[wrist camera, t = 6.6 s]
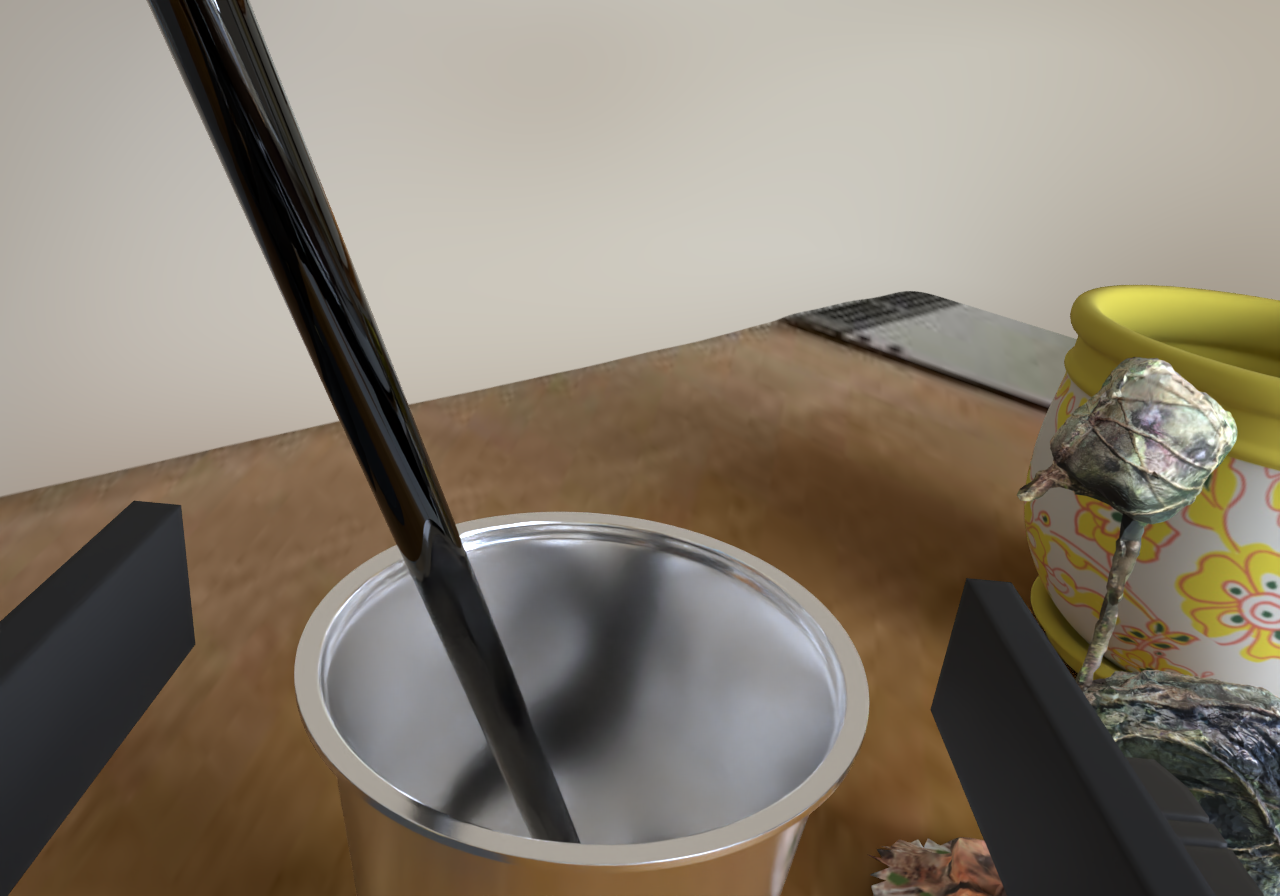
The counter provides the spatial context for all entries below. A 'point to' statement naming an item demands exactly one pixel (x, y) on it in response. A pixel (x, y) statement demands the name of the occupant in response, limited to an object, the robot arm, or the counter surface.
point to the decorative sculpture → (1125, 702)
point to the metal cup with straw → (522, 619)
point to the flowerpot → (1199, 533)
